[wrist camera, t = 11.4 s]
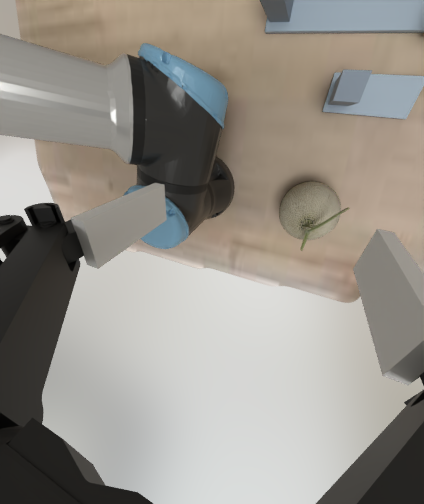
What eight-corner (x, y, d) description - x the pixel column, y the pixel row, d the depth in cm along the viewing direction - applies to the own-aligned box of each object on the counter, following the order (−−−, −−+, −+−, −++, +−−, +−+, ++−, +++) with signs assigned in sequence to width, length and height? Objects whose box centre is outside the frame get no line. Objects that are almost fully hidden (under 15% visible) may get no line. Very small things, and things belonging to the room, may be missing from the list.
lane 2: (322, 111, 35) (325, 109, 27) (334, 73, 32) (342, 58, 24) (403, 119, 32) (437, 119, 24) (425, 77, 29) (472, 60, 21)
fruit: (278, 224, 49) (268, 258, 37) (287, 173, 42) (278, 195, 31) (327, 231, 45) (333, 270, 34) (344, 177, 39) (359, 202, 27)
